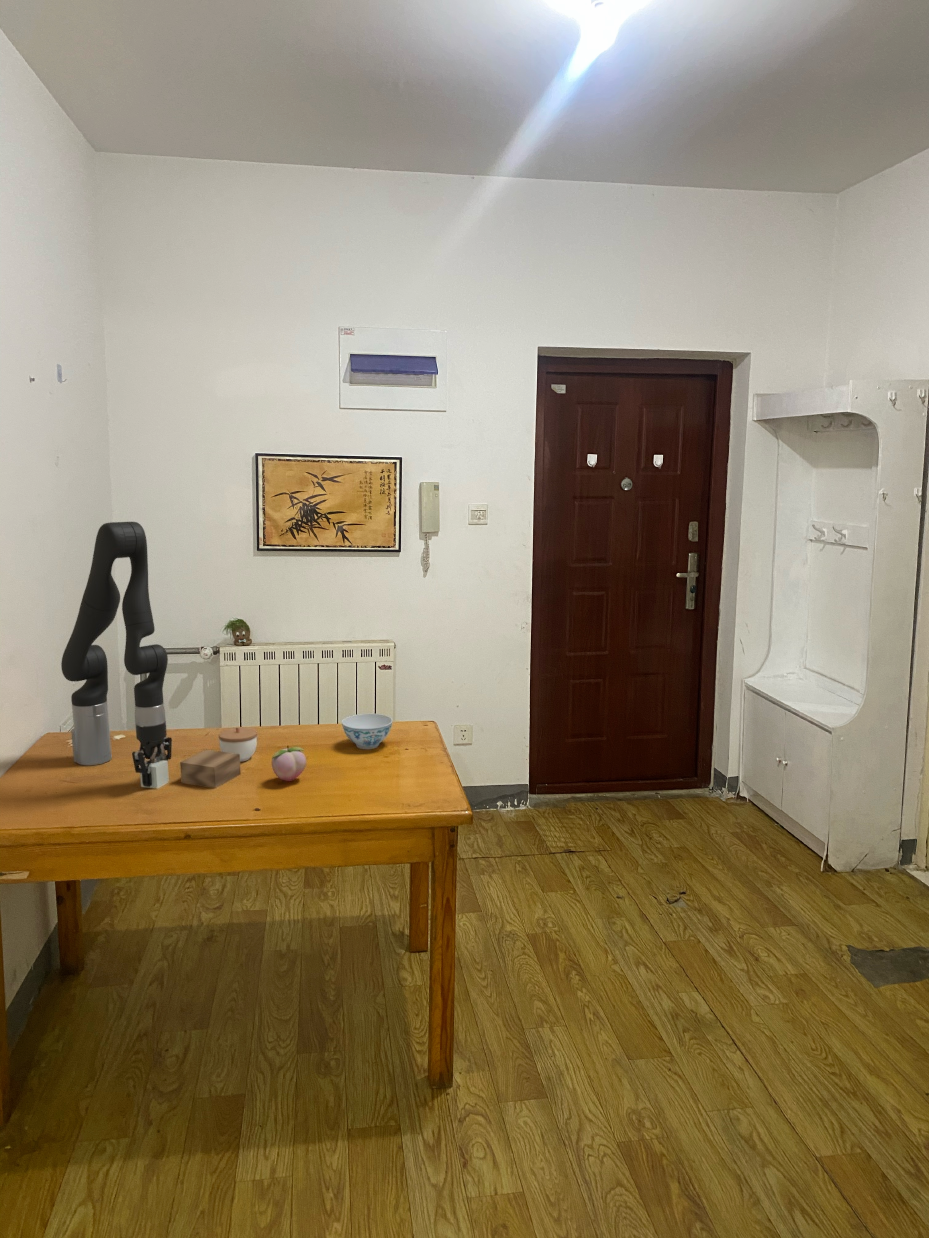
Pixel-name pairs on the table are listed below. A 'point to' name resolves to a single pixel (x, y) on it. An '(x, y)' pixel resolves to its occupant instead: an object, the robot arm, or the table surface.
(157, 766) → the off-white cube
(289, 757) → the decorative fruit
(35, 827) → the table surface
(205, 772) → the walnut block
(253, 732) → the lidded jar
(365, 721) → the chinaware
